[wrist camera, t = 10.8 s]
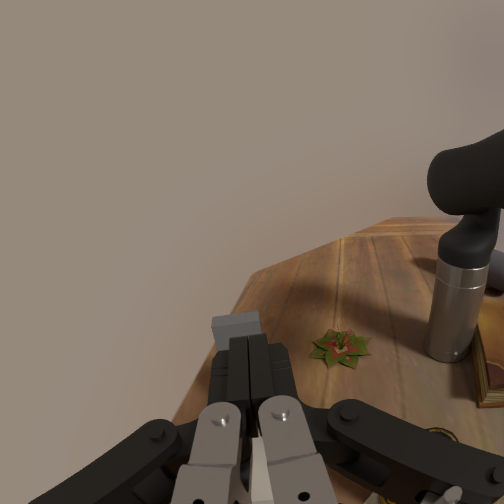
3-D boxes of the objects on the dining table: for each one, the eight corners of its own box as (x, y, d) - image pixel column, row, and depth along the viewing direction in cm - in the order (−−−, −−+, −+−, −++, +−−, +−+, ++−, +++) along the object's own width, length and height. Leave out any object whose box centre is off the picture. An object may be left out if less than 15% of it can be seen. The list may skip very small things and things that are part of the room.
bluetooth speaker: (434, 273, 66) (437, 238, 63) (450, 264, 69) (453, 231, 66) (502, 303, 46) (510, 263, 43) (513, 289, 49) (520, 252, 45)
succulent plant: (360, 380, 40) (362, 359, 39) (296, 362, 47) (294, 342, 46) (380, 337, 49) (383, 318, 47) (324, 326, 56) (324, 307, 55)
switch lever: (279, 418, 33) (265, 325, 28) (233, 424, 33) (205, 333, 28) (275, 398, 37) (261, 305, 32) (233, 403, 37) (208, 312, 32)
